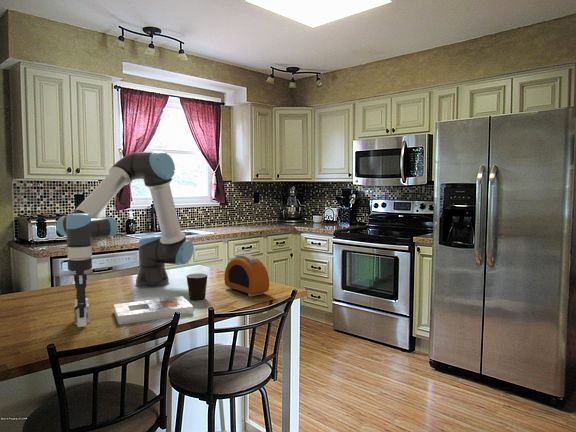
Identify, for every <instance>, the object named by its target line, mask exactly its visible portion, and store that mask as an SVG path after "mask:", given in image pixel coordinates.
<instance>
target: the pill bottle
mask: <svg viewBox="0 0 576 432" xmlns="http://www.w3.org/2000/svg"><path fill="white" fill-rule="evenodd" d="M81 304H84V303H81ZM76 306H77V299H76V298H75V299H74V305H73V313H74V314H73V316H74V318H73V319H74V324H75V325H77V309H75V307H76ZM89 323H90V304H89V298H88V297H87V298H86V325H87V324H89Z"/></svg>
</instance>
